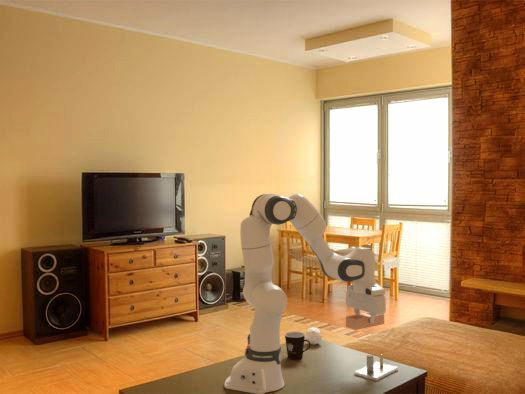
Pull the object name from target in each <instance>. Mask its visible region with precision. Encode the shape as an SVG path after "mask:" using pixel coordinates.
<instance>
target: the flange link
mask: <svg viewBox="0 0 525 394" xmlns="http://www.w3.org/2000/svg"><path fill="white" fill-rule="evenodd" d="M370 317H371V315H370V313H369V312H363V313H360V314H357V315H356V314H352V315H347V316H345V327H346V328H348V329H352V330H354V331H358V330H362V329H366V328H372V327H376V326H381V325H385V313H384V314H382V315H376V317H375V319H374V324H370V323H368V319H370Z"/></svg>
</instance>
